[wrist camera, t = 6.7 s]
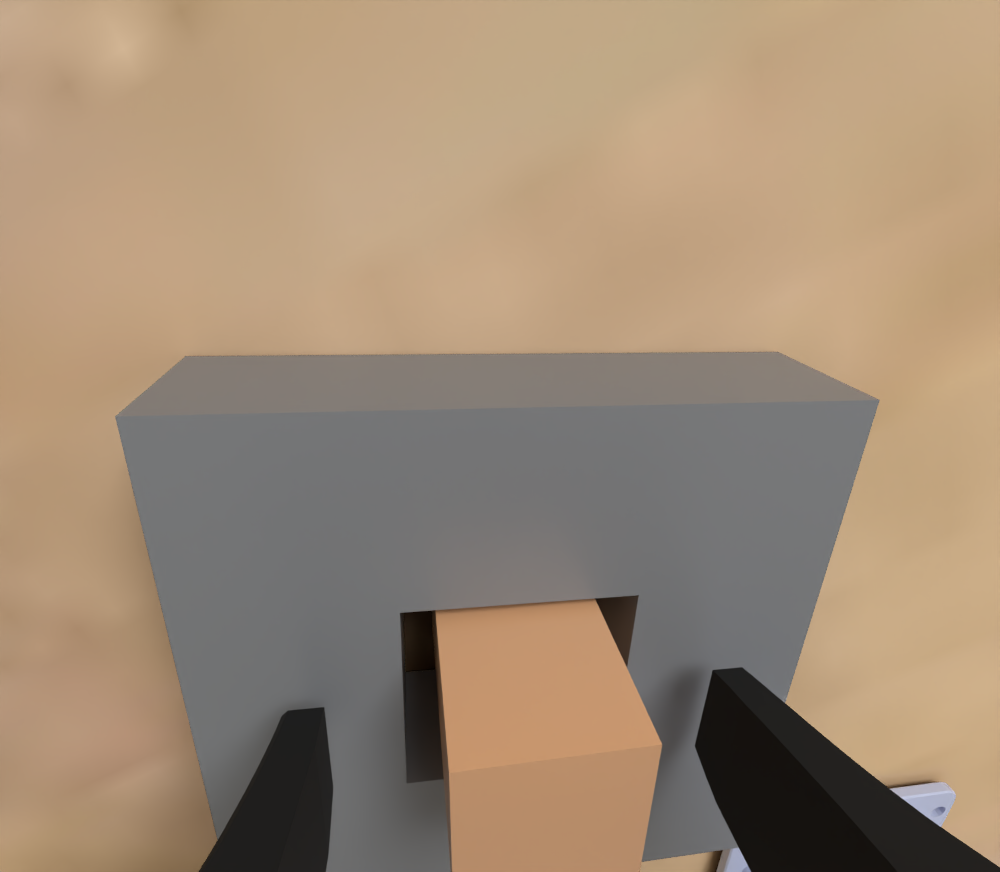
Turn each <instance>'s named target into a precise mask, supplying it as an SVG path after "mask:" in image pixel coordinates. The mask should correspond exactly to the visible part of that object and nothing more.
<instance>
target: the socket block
mask: <svg viewBox="0 0 1000 872" xmlns="http://www.w3.org/2000/svg"><path fill="white" fill-rule="evenodd" d="M878 403H879V400H878V399H876V398H874V397H872V396H870V395H868V394H866V393H864V392H861V391H859V390H857V389H855V388H853V387H851V386H849V385H847V384H845V383H843V382H840V381H838V380H836V379H834V378H832V377H830V376H828V375H826V374H824V373H821V372H819V371H817V370H815V369H813V368H811V367H809V366H807V365H805V364H802V363H800V362H798V361H796V360H794V359H792V358H790V357H788V356H786V355H783V354H781V353H779V352H712V353H574V354H437V355H299V356H185V357H184V358H183V359H182V360H181V361H180V362H178V363H177V364H176V365H175V366H174V367H173V368H171V369H170V370H169V371H168V372H167V373H166V374H164V375H163V376H162V377H161V378H160V379H159V380H157V381H156V382H155V383H154V384H153V385H152V386H150V387H149V388H148V389H147V390H146V391H144V392H143V393H142V394H141V395H140V396H139V397H137V398H136V399H135V400H134V401H133V402H132V403H130V404H129V405H128V406H127V407H126V408H125V409H123V410H122V411H121V412H120V413H119V414H118V415H116V416H115V417H116V421H117V426H118V430H119V434H120V438H121V442H122V446H123V450H124V455H125V459H126V463H127V467H128V471H129V475H130V479H131V484H132V488H133V492H134V496H135V500H136V504H137V508H138V512H139V517H140V521H141V525H142V529H143V533H144V537H145V541H146V546H147V550H148V554H149V558H150V562H151V566H152V570H153V575H154V579H155V583H156V587H157V591H158V595H159V599H160V603H161V608H162V612H163V616H164V620H165V624H166V628H167V632H168V637H169V641H170V645H171V649H172V653H173V657H174V661H175V666H176V670H177V674H178V678H179V682H180V686H181V690H182V694H183V699H184V703H185V707H186V711H187V715H188V719H189V723H190V728H191V732H192V736H193V740H194V744H195V748H196V752H197V757H198V761H199V765H200V769H201V773H202V777H203V781H204V785H205V790H206V794H207V798H208V802H209V806H210V810H211V814H212V819H213V823H214V827H215V831H216V835H217V839H219V837H220V835H221V834H222V832H223V830H224V828H225V826H226V825H227V823H228V821H229V819H230V818H231V816H232V814H233V812H234V810H235V809H236V807H237V805H238V803H239V802H240V800H241V798H242V796H243V794H244V793H245V791H246V789H247V787H248V785H249V783H250V781H251V779H252V777H253V775H254V773H255V772H256V770H257V768H258V766H259V764H260V762H261V760H262V758H263V756H264V754H265V752H266V750H267V747H268V745H269V743H270V741H271V739H272V737H273V735H274V732H275V730H276V728H277V726H278V723H279V721H280V719H281V716H282V715H283V714H284V713H286V712H287V711H288V710H298V709H308V708H319V707H324V709H325V718H326V727H327V735H328V744H329V753H330V762H331V771H332V780H333V801H332V815H331V829H330V842H329V855H328V861H327V867H326V872H451V871H450V857H449V844H448V830H447V817H446V803H445V790H444V776H443V763H442V749H441V736H440V722H439V709H438V695H437V682H436V669H435V670H424V671H412V672H405V645H404V618H403V613H404V612H418V611H431V610H445V609H458V608H472V607H486V606H499V605H513V604H526V603H540V602H554V601H567V600H581V599H594V598H595V600H596V602H597V604H598V606H599V609H600V611H601V613H602V615H603V617H604V619H605V622H606V624H607V626H608V628H609V630H610V632H611V635H612V637H613V639H614V641H615V643H616V645H617V648H618V650H619V652H620V654H621V656H622V658H623V661H624V663H625V665H626V667H627V669H628V671H629V674H630V676H631V678H632V680H633V682H634V684H635V687H636V689H637V691H638V693H639V695H640V697H641V700H642V702H643V704H644V706H645V708H646V710H647V713H648V715H649V717H650V719H651V721H652V723H653V726H654V728H655V730H656V732H657V734H658V736H659V739H660V741H661V743H662V749H661V754H660V760H659V766H658V771H657V777H656V783H655V788H654V794H653V800H652V805H651V811H650V817H649V822H648V828H647V834H646V839H645V845H644V851H643V856H642V862H644V861H650V860H657V859H664V858H671V857H678V856H685V855H691V854H698V853H705V852H712V851H719V850H726V849H732V848H739V847H738V845H737V843H736V841H735V839H734V837H733V835H732V833H731V831H730V830H729V828H728V826H727V824H726V822H725V820H724V818H723V816H722V814H721V812H720V810H719V807H718V805H717V803H716V801H715V798H714V796H713V793H712V791H711V788H710V786H709V783H708V781H707V778H706V776H705V773H704V770H703V767H702V765H701V762H700V759H699V756H698V754H697V751H696V748H695V742H696V738H697V734H698V729H699V725H700V721H701V717H702V713H703V708H704V704H705V700H706V696H707V692H708V687H709V683H710V679H711V675H712V670H717V669H728V668H738V667H743V668H744V669H745V670H746V671H747V672H749V673H750V674H751V675H752V676H754V677H755V678H756V679H757V680H758V681H760V682H761V683H762V684H763V685H764V686H765V687H767V688H768V689H769V690H770V691H771V692H772V693H774V694H775V695H776V696H777V697H778V698H780V699H781V700H782V701H783V702H784V703H785V701H786V698H787V695H788V692H789V689H790V685H791V682H792V679H793V676H794V673H795V669H796V666H797V663H798V660H799V656H800V653H801V650H802V647H803V644H804V640H805V637H806V634H807V631H808V628H809V624H810V621H811V618H812V615H813V612H814V608H815V605H816V602H817V599H818V596H819V592H820V589H821V586H822V583H823V580H824V576H825V573H826V570H827V567H828V563H829V560H830V557H831V554H832V551H833V547H834V544H835V541H836V538H837V535H838V531H839V528H840V525H841V522H842V519H843V515H844V512H845V509H846V506H847V503H848V499H849V496H850V493H851V490H852V487H853V483H854V480H855V477H856V474H857V470H858V467H859V464H860V461H861V458H862V454H863V451H864V448H865V445H866V442H867V438H868V435H869V432H870V429H871V426H872V422H873V419H874V416H875V413H876V410H877V406H878Z"/></svg>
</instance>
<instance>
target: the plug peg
mask: <svg viewBox="0 0 1000 872" xmlns="http://www.w3.org/2000/svg"><path fill="white" fill-rule="evenodd" d="M432 624H433V641H434V655H435V668H436V682H437V695H438V709H439V722H440V736H441V749H442V763H443V776H444V790H445V803H446V817H447V830H448V844H449V857H450V871H451V872H640V868H641V862H642V856H643V851H644V845H645V839H646V834H647V828H648V822H649V817H650V811H651V805H652V800H653V794H654V788H655V783H656V777H657V771H658V766H659V760H660V754H661V749H662V743H661V741H660V739H659V736H658V734H657V732H656V730H655V728H654V726H653V723H652V721H651V719H650V717H649V715H648V713H647V710H646V708H645V706H644V704H643V702H642V700H641V697H640V695H639V693H638V691H637V689H636V687H635V684H634V682H633V680H632V678H631V676H630V674H629V671H628V669H627V667H626V665H625V663H624V661H623V658H622V656H621V654H620V652H619V650H618V648H617V645H616V643H615V641H614V639H613V637H612V635H611V632H610V630H609V628H608V626H607V624H606V622H605V619H604V617H603V615H602V613H601V611H600V609H599V606H598V604H597V602H596V600H595V598H594V599H581V600H567V601H554V602H540V603H526V604H513V605H499V606H486V607H472V608H458V609H445V610H432Z"/></svg>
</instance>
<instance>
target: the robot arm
mask: <svg viewBox="0 0 1000 872" xmlns="http://www.w3.org/2000/svg"><path fill="white" fill-rule="evenodd" d="M695 748H696V751H697V754H698V756H699V759H700V762H701V765H702V767H703V770H704V773H705V776H706V778H707V781H708V783H709V786H710V788H711V791H712V793H713V796H714V798H715V801H716V803H717V805H718V807H719V810H720V812H721V814H722V816H723V818H724V820H725V822H726V824H727V826H728V828H729V830H730V831H731V833H732V835H733V837H734V839H735V841H736V843H737V845H738V847H739V848H732V849H726V850H723V851H722V855H721V858H720V861H719V865H718V868H717V872H1000V867H998V866H997V865H995V864H994V863H992V862H991V861H989V860H988V859H987V858H985V857H984V856H982V855H981V854H979V853H978V852H976V851H975V850H973V849H972V848H970V847H969V846H967V845H966V844H965V843H963V842H962V841H960V840H959V839H957V838H956V837H954V836H953V835H951V834H950V833H948V832H947V831H946V830H944V829H943V828H941V826H942V824H943V822H944V820H945V818H946V816H947V814H948V813H949V811H950V809H951V807H952V805H953V803H954V801H955V798H956V795H955V792H954V791H953V790H952V789H951V788H950V787H949V785H948V784H946V783H944V782H934V783H926V784H919V785H912V786H904V787H897V788H888V787H886V786H885V785H884V784H882V783H881V782H880V781H879V780H877V779H876V778H875V777H874V776H872V775H871V774H870V773H868V772H867V771H866V770H865V769H863V768H862V767H861V766H860V765H858V764H857V763H856V762H855V761H853V760H852V759H851V758H850V757H849V756H847V755H846V754H845V753H844V752H842V751H841V750H840V749H839V748H838V747H836V746H835V745H834V744H833V743H831V742H830V741H829V740H828V739H827V738H825V737H824V736H823V735H822V734H821V733H820V732H818V731H817V730H816V729H815V728H814V727H812V726H811V725H810V724H809V723H808V722H806V721H805V720H804V719H803V718H802V717H801V716H799V715H798V714H797V713H796V712H795V711H794V710H792V709H791V708H790V707H789V706H788V705H787V704H785V703H784V702H783V701H782V700H781V699H780V698H778V697H777V696H776V695H775V694H774V693H772V692H771V691H770V690H769V689H768V688H767V687H765V686H764V685H763V684H762V683H761V682H760V681H758V680H757V679H756V678H755V677H754V676H752V675H751V674H750V673H749V672H747V671H746V670H745V669H744V668H743V667H738V668H728V669H717V670H712V675H711V679H710V683H709V687H708V692H707V696H706V700H705V704H704V708H703V713H702V717H701V721H700V725H699V729H698V734H697V738H696V742H695ZM332 801H333V780H332V771H331V762H330V753H329V744H328V735H327V727H326V718H325V709H324V707H319V708H308V709H298V710H288V711H287V712H286V713H284V714H283V715H282V716H281V719H280V721H279V723H278V726H277V728H276V730H275V732H274V735H273V737H272V739H271V741H270V743H269V745H268V747H267V750H266V752H265V754H264V756H263V758H262V760H261V762H260V764H259V766H258V768H257V770H256V772H255V773H254V775H253V777H252V779H251V781H250V783H249V785H248V787H247V789H246V791H245V793H244V794H243V796H242V798H241V800H240V802H239V803H238V805H237V807H236V809H235V810H234V812H233V814H232V816H231V818H230V819H229V821H228V823H227V825H226V826H225V828H224V830H223V832H222V834H221V835H220V837H219V839H218V841H217V842H216V844H215V846H214V847H213V849H212V851H211V853H210V854H209V856H208V857H207V859H206V861H205V862H204V864H203V865H202V867H201V869H200V870H199V872H326V867H327V861H328V855H329V842H330V829H331V815H332Z"/></svg>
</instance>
